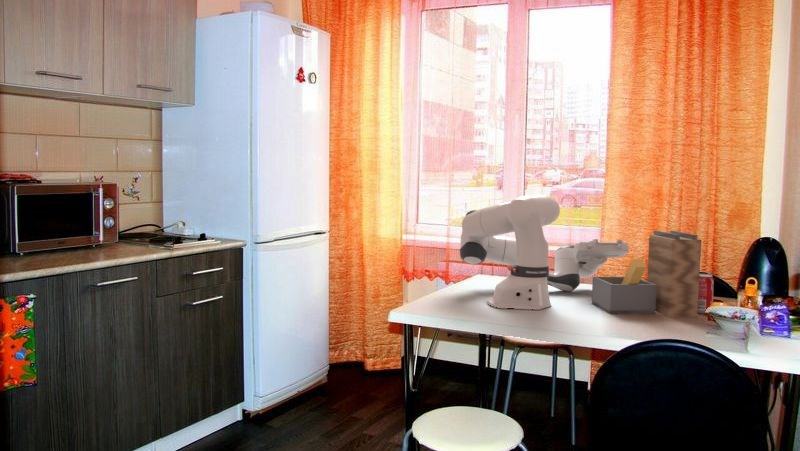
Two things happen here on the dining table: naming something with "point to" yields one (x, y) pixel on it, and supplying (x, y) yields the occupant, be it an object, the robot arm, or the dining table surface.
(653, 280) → the stand
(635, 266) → the bar
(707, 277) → the soda can
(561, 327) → the dining table surface
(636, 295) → the bin
